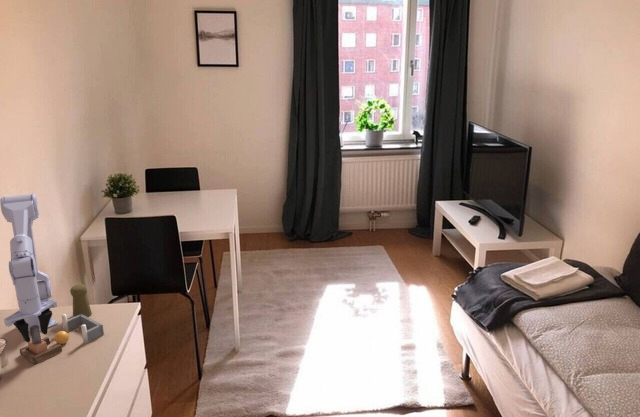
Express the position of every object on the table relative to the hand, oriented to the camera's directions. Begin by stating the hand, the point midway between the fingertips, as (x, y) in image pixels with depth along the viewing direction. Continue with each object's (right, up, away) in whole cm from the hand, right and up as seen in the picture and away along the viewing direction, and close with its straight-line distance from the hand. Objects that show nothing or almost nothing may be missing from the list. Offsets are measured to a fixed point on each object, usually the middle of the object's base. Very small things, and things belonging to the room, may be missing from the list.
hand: (35, 337), depth 163 cm
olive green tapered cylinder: (+3, +2, +24) cm, 24 cm away
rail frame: (+1, -5, +3) cm, 6 cm away
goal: (+9, -2, +13) cm, 16 cm away
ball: (+4, -2, +7) cm, 8 cm away
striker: (0, -6, +2) cm, 6 cm away
